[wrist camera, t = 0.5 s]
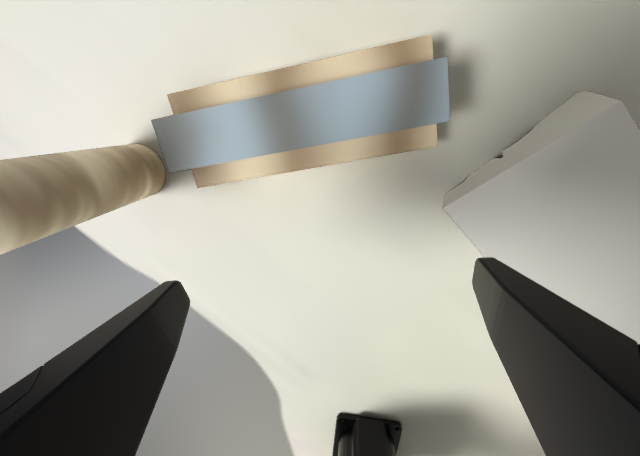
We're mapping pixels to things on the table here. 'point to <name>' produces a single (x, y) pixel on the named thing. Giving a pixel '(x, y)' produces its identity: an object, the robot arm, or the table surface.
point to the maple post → (71, 189)
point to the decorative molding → (565, 208)
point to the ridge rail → (302, 81)
